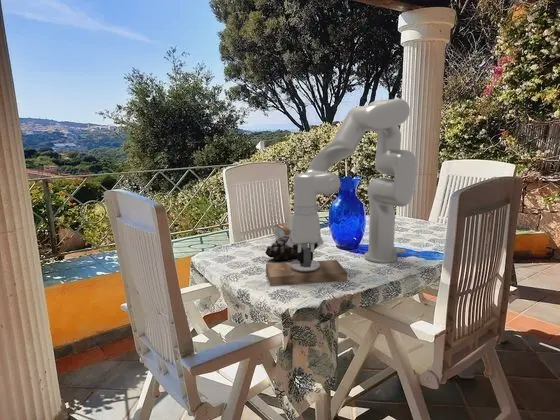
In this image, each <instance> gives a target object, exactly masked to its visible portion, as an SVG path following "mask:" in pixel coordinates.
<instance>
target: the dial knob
mask: <svg viewBox="0 0 560 420" xmlns="http://www.w3.org/2000/svg"><path fill="white" fill-rule="evenodd" d="M301 250H302V253H303V263H302V264H300V262H299V261H298V260H297V259H295V260H292V261H291V262H290V263H291V269H293V270H295V271H298V272H313V271H316V270H318V269H319V268H320V263H319V262H317V261H318V260H314V259H313V260H312V263H311V250H310V248H309V244H308V245H307V244H301Z"/></svg>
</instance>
